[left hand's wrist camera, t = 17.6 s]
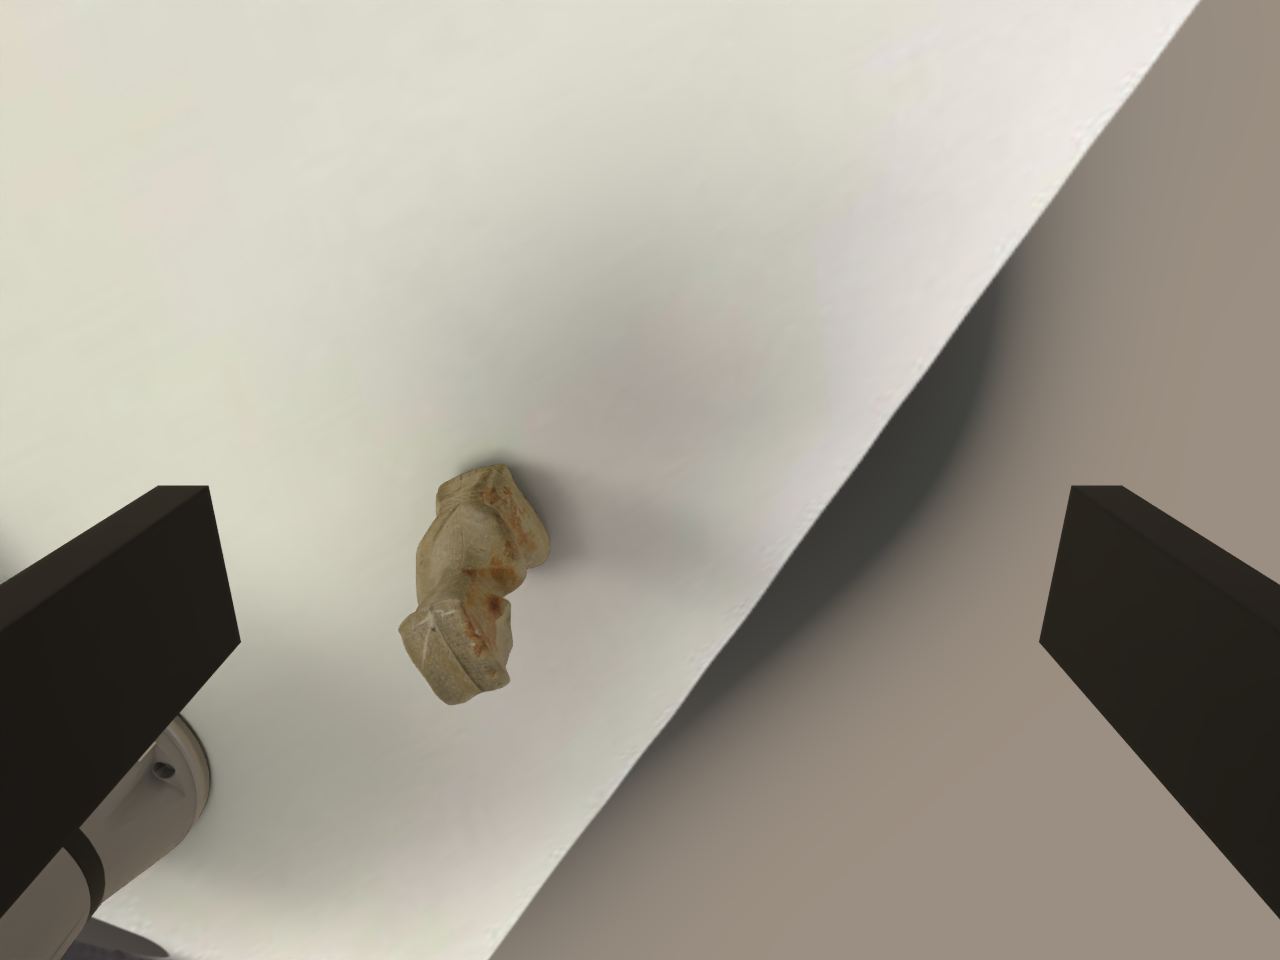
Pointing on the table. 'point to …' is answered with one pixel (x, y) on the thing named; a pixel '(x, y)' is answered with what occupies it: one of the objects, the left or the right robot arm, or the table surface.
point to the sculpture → (471, 582)
